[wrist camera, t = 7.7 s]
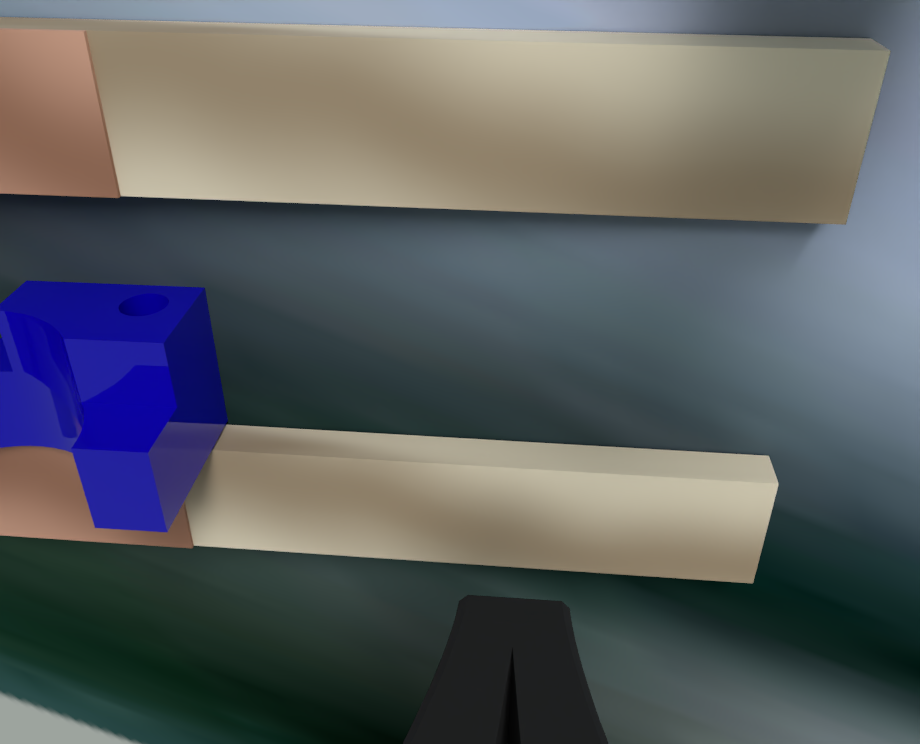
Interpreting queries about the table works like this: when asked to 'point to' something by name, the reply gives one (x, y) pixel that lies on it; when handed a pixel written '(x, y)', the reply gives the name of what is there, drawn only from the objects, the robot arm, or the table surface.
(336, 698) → the table surface
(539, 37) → the birch track
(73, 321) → the cable holder
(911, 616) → the table surface
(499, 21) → the table surface
